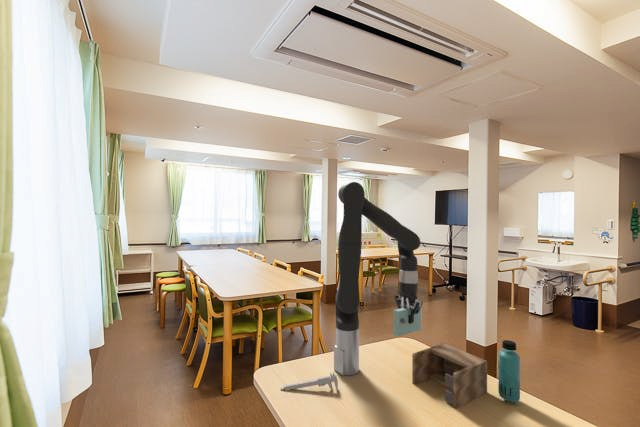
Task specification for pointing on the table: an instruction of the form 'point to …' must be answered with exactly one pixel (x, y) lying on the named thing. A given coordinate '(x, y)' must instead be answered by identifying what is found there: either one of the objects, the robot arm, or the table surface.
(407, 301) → the robot arm
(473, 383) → the cabinet
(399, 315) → the door
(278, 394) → the table surface
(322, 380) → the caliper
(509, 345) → the beverage bottle
